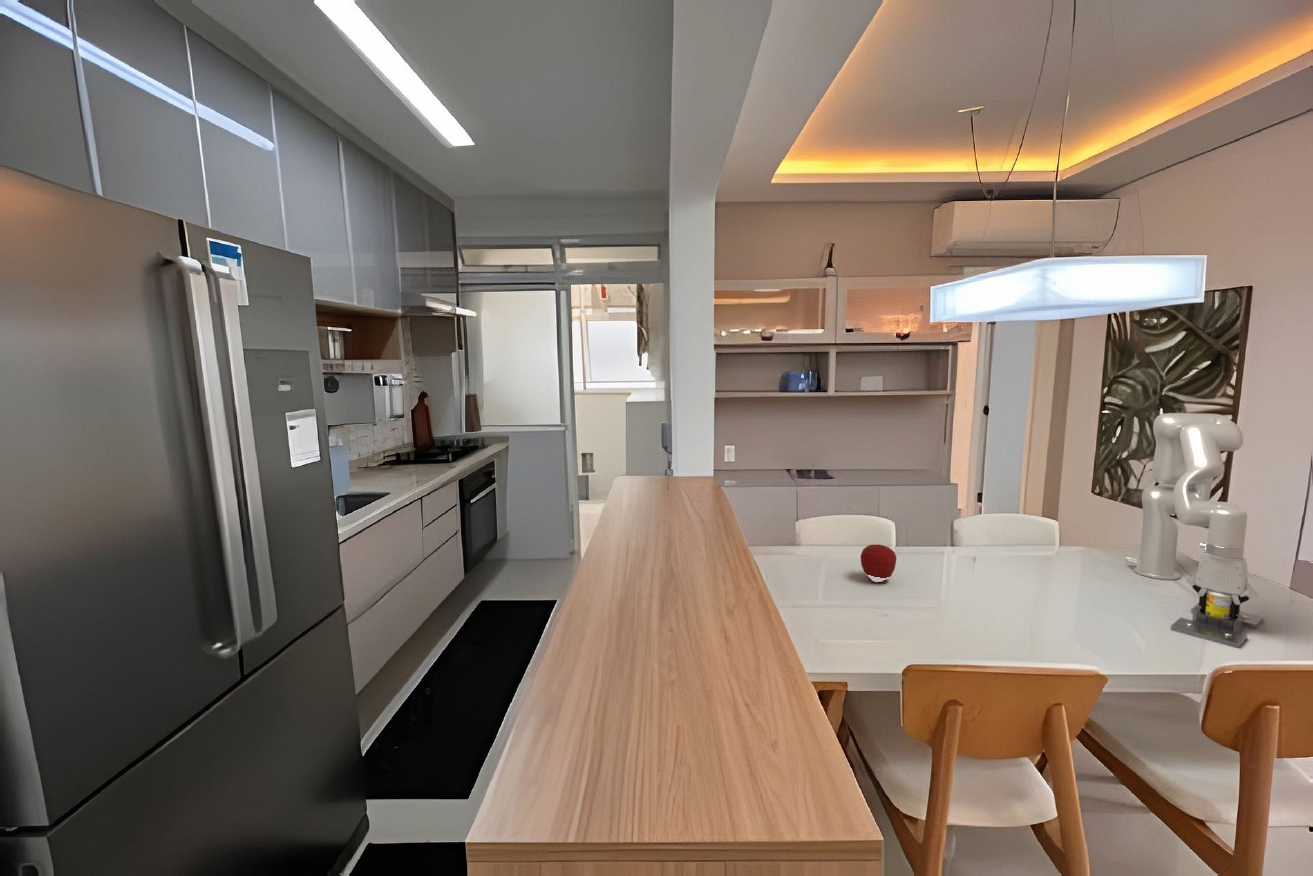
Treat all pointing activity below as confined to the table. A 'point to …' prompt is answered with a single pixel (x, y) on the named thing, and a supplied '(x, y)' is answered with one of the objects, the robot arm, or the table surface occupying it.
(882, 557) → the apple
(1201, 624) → the ring mounting bracket
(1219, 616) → the supplement bottle
